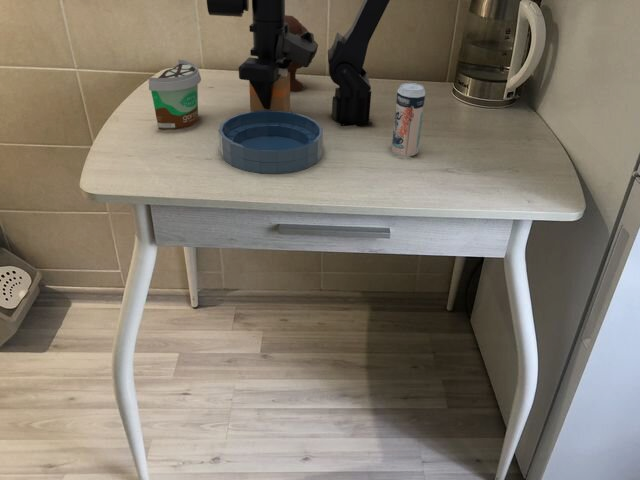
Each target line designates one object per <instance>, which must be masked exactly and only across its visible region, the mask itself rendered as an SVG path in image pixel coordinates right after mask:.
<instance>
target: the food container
mask: <svg viewBox="0 0 640 480" xmlns="http://www.w3.org/2000/svg"><path fill="white" fill-rule="evenodd" d="M177 60H178V61H177V62H178V64H177V65H176V66H174V67H172V68H169V69H166V70H164V71H163V72H162V73H161V74H160V75H159V76H158V77H151V76H148V91H151V97H152V102H153V108H154V113H155V117H156V123H157V127H158V130H164V131H174V130H183V129H187V128H190V127H192V126H194V125H196V124H197V123H198V122H199V92H198V91H199V90H198V89H199V87H198V86H199V84H200V83H201V81H202V76H201V74H200V70H199V69H198V67H197V65H196V64H195V63H193V62H191V61H189V60H187V59H186V60H185V59H181V58H178V59H177Z"/></svg>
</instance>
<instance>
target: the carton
mask: <svg viewBox="0 0 640 480" xmlns="http://www.w3.org/2000/svg"><path fill="white" fill-rule="evenodd" d="M278 74H280V75H281V76H280V78H279V79H278V80H277V81H276V82H274V84H273V92H272V99H271V105H270V109H264V108H263V106H262V104H261V102H260V100H259V98H258V96H257V94H256V92H255V90H254V88H253V87H252V85H251V83H250V81H249V80H248V81H249V83H248V85H249V86H248V87H249V108H250V111H261V110H276V111H286V112H291V91H290V72H288V71H287V69H282V68H279V72H278Z"/></svg>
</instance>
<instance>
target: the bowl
mask: <svg viewBox="0 0 640 480" xmlns="http://www.w3.org/2000/svg"><path fill="white" fill-rule="evenodd" d="M323 130H324V129H323V127H322V126H321V124H320V123H319V122H318V121H317V120H316V119H313V118H311V117H309V116H306V115H304V114H300V113H297V112H292V111H290V112H286V111H276V110H261V111H251V110H250V111H246V112H241V113H237V114H235V115H232V116H230V117H228V118H226V119H225V120H224V121H223V122H221V123H220V125H219V128H218V141H219V142H218V143H219V153H220V155H221V157H222V160H223V161H225V162H226V163H227V164H229V165H230V166H232V167H234V168H237V169H240V170H242V171H244V172H251V173H257V174H266V175H271V174H272V175H275V174H276V175H277V174H278V175H281V174H288V173H289V174H290V173H296V172H299V171H303V170H306V169H309V168H311V167H313V166H314V165H316V164H317V163H319V161H320V159H322V157H323V145H324V144H323V141H324V140H323V139H324V133H323V132H324V131H323Z"/></svg>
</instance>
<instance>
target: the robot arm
mask: <svg viewBox="0 0 640 480" xmlns="http://www.w3.org/2000/svg"><path fill="white" fill-rule="evenodd" d="M390 1H391V0H363V1H362V4H361V5H360V7H359V8H358V9H359V10H358V12H357V13H356V16H355V18H354V20H353V22H352V24H351V26H350V28H349V29H348V30H347V32H346V33H344V35H342V34H340V33H339V32H336V34H335V37H334V41H333V43H332V45H331V46H330V48H329V49H327V62H328V74H329V77H330V80H331V81H332V82H333V83H334V84H335V85H337V86H338V87H335V88H334V89H335V92H334V95H333V96H332V100H331V101H332V103H331V113H330V115H331V117H332V118H333V119H334V121H335V122H336V123H338V124H339V125H340V126H341V127H353V126H356V127H366V126H372V125H373V121H372V120H371V119H370V114H371V102H372V101H371V100H372V87H371V82H370V77H369V74H368V71H366V69H365V68H364V64H365V61H366V55H367V51H368V47H369V44H370V41H371V38H372V37H373V35H374V33H375V31H376V29H377V27H378V24H379V23H380V21H381V19H382V17H383V16H384V15H383V14H384V13H385V11H386V9H387V7H388V5H389V3H390ZM206 8H207V12H208V15H209V16H216V17H217V16H218V17H220V16H221V17H235V18H236V17H237V18H242V17H243V14H244V13H245V12H249V8H250V0H206ZM251 12H252V19H251V20H252V23H251V24H250V25H249V32H250V33H252V47H251V48H250V50H249V51H250V56H251V57H248V58H246V60H245V61H244V62H243V63H241V65H239V66H238V79H239V80H241V81H242V80H243V81H250V83H251V85H252V87H253V88H254V90H255V92H256V94H257V96H258V98H259V100H260V102H261V104H262V106H263V108H264V109H270V105H271V99H272V92H273V84H274V82H276V81H277V80H278V79H279V78H280V76H281V75H280V74H278V72H279V68H282V69H286V68H287V67H288V66H289V65H290V64H291V63H292V60H293V61H295V62H297V63H299V65H300V66H302V67H301V68H309V66H310V65H311V63H312V61H313V59H314V58H315V56H314V54H315V51H316V49H317V50H318V48H317V46H316V45H317V44H318V43H317V42H316V43H317V44H316V43H314V41H315V35H314V33H313V32H310V31H306V32H305V33H303V34H302V35H301V36H299V35H298V34H297V35H294V34H292V33H290V31H289V25H288V23H285V15H286V0H251ZM315 55H316V54H315ZM285 57H287V58H289V59H291V60H288V59H285ZM313 57H314V58H313Z"/></svg>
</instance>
